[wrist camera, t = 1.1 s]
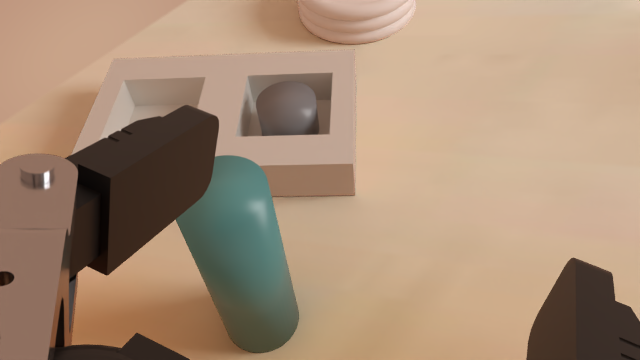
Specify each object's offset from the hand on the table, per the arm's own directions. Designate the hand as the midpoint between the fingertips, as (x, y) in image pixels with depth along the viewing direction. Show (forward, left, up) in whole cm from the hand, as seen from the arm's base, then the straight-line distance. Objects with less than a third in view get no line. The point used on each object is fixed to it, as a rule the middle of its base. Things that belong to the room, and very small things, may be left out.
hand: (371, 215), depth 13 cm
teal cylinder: (+6, -7, -19) cm, 21 cm away
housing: (+10, -21, -19) cm, 30 cm away
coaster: (+1, -36, -19) cm, 41 cm away
